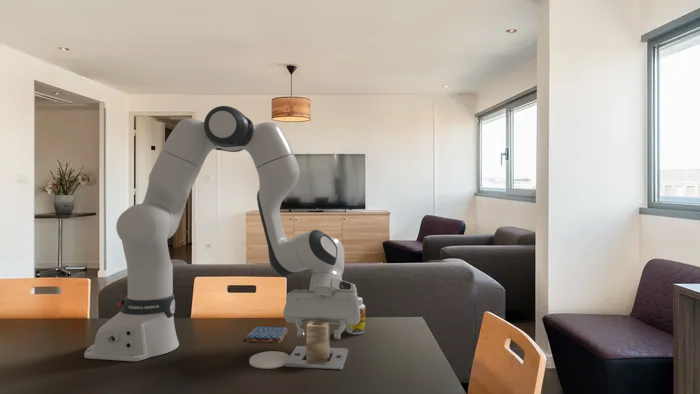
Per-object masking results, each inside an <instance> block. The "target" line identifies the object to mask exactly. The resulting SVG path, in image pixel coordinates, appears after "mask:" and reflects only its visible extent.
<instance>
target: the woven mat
mask: <svg viewBox="0 0 700 394" xmlns="http://www.w3.org/2000/svg"><path fill="white" fill-rule="evenodd" d="M288 333H290V332H289V330H288V327H285V326H282V327H280V326H277V327H275V326H272V327H271V326H264V325H262V326H259V325H257V326H256V327H254V329H252V331H251V332H249V333H248V334H247V336H246V342H250V343H251V342H255V343H282V341H283V340H284V339H285V337H286V335H288Z"/></svg>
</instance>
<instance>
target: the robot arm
mask: <svg viewBox="0 0 700 394" xmlns="http://www.w3.org/2000/svg"><path fill="white" fill-rule="evenodd" d="M213 150H215V151H216V150H217V151H221V152H223V151H224V152H231V153H237V152H242V151H246V152H247V153H248V154H249V155H250V157H251V159H252V161H253V164H254V166H255V169H256V172H257V175H258V182H259V189H258V191H257V193H256V200H257V201H256V202H257V207H258V210H259V211H258V212H259V216H260V220H261V224H262V226H263V232H264V235H265V239H266V243H267V249H268V250H267V251H268V259H269V265H270V266H271V268H272V269H273V270H274V272H275V273H277V274H278V275H280V276H282V277H287V278H289V277H291V276H293V275H296V274H298V273H300V272H302V271H305V270H306V271H307V270H308V269H310V270H311V271H312V275H311V277H310V283H309V289H308V288H307V289H304V288H303V289H298V288H295V289H292V290H291V291H289V292H288V293H287V295H286V297H285V298H286V299H285V300H286V302H285V306H284V308H283V312H282V314H283V319H284V320H285V321H286V322H287V323H295V326H296V328H297V333H296V335H297V338H301V339H302V338H303V339H304V338H305V332H306V331H305V329H304V328H301V326H302V325H303V323H305V324H308V323H309V322H310V320H317V321H330V324H331V325H339V327H338V329H334V331H333V332H334V334H333V339H334V340H340V339H341V337H342V335H341V334H342V333H343V332H344V331H345V329H347V324H352V325H357V324H358V323H359V322H360V308H359V301H358V297H359V296H358V292H357V291H358V290H357V287H356V284H354V283H352V282H350V281H349V282H348V281H346V280H343V273H344V270H345V261H346V260H345V257H346V256H345V255H346V254H345V249H344V248H345V247H344V245H343V243H342V241H341V240H339V239H338V238H336V237H331V236H329V235H327V234H326V233H325V232H323V231H321V230H318V229H313V230H310V231H308V232H304V233H302V234H299V235H296V236H293V237H291V238H288V237H287V236H286V233H285V229H284V225H283V222H282V216H281V212H280V211H281V210H280V209H281V206H282V202H283V201H284V200H285V199H286V198H287V196H288V195H289V194H290V193H291V192H292V190H294V188H295V187H296V185H297V184H298V181H299V179H300V174H301V172H300V167H299V163H298V160H297V158H296V156H295V153H294V151H293V149H292V146H291V145H290V142H289V141H288V138H287V137H286V135H285V134H284V132H283V130H282V129H281V128H280V126H279V125H278V124H276V123H274V122H270V121H267V122H261V123H257V124H254V122H253V121H252V120H251V119H250V118H248V117H247V116H246V115H244V114H243V112H241V111H240V110H239V109H237V108H235V107H233V106H229V105H219V106H216V107H214V108H212V109H210V111H209V112H208V113H207V114H206V116H205V117H204V121H201V120H198V119H195V118H183V119H180V121H179V122H178V123H177V124H176V125H175V127H174V128H173V130H171V133H170V134H169V136H168V137H167V139H166V141H165V142H164V144H163V146H162V149H161V150H160V152H159V155H158V157H156V160H155V162H154V164H153V166H152V169H151V171H150V173H149V175H148V185H147V189H146V193H145V195H144V199H143V201H142V203H138V204H137V203H136V204H133V205H132V206H130V207H128V208H126V209H125V210H124V211H123V212H122V213H121V214H120V215H119V216H118V219H117V221H116V225H115V227H116V228H115V229H116V232H117V235H118V237H119V239H120V240H121V243H122V247H123V252H124V258H125V261H126V269H127V295H126V296H125V297H124V298H122V299H121V300H120V301H118V302H117V304H118V305H117V307H118V308H120V311H119V312H118V313H117V314H115V315H114V316H113V317H111V318H110V319H109V320H108V321H107V322H105V323H104V324H102V326H100V327H99V328H98V330H97V332H96V335H95V339H94V343H93V344H90V346H88V347H87V348H86V350H85V351H84V354H83V356H84V358H85V359H92V360H107V361H108V360H111V361H124V362H125V361H126V362H139V361H142V360H146V359H148V358H152V357H158V356H161V355H164V354H167V353H170V352H172V351H175V350H176V349H177V348H178V347H179V346H180V343H179V342H180V341H179V339H178V336H177V332H176V326H175V317H174V314H175V310H176V301H175V293H173V292H174V288H173V287H174V285H173V282H174V280H173V279H174V268H173V267H174V266H173V262H172V261H171V256H170V251H169V246H168V239H171V238H172V237H173V236H174V235H175V233H176V232H177V230H178V228H179V226H180V222H181V219H182V217H183V214H184V211H185V208H186V204H187V202H188V198H189V195H190V193H191V191H192V188H193V186H194V185H195V182H196V180H197V177H198V175H199V173H200V171H201V170H202V167H203V165H204V163H205V160H206V158H207V157H208V155H209V153H210V152H211V151H213Z"/></svg>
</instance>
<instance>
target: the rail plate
mask: <svg viewBox="0 0 700 394" xmlns="http://www.w3.org/2000/svg"><path fill="white" fill-rule="evenodd" d="M348 353H349V348H347V347H346V348H345V347H344V348H343V347H329V355H331V357H330V358H329V359H330V360H329V361H328V360H327V361H312V360H306V346H305V345H304V346H303V345H296V347H294V349H293V351H292V352H291V353H290V354H289V358H288V359H287V361H286V362H285V365H284V367H286V368H287V367H288V368H289V367H290V368H306V369H307V368H308V369H328V370H343V369H344V365H345V362H346V359H347V357H348Z"/></svg>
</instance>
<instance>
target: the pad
mask: <svg viewBox="0 0 700 394" xmlns="http://www.w3.org/2000/svg"><path fill="white" fill-rule="evenodd" d="M289 356H290V354H288V353H286V352H283V351H278V350H277V351H274V350H273V351H271V350H270V351H263V352H259V353H255V354H253V355H252V356H251V357H249V360H248V361H249V366H251V367H253V368H256V369H262V370H269V369H279V368H282V367H285V362H286V361H287V359H288V358H289Z"/></svg>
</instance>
